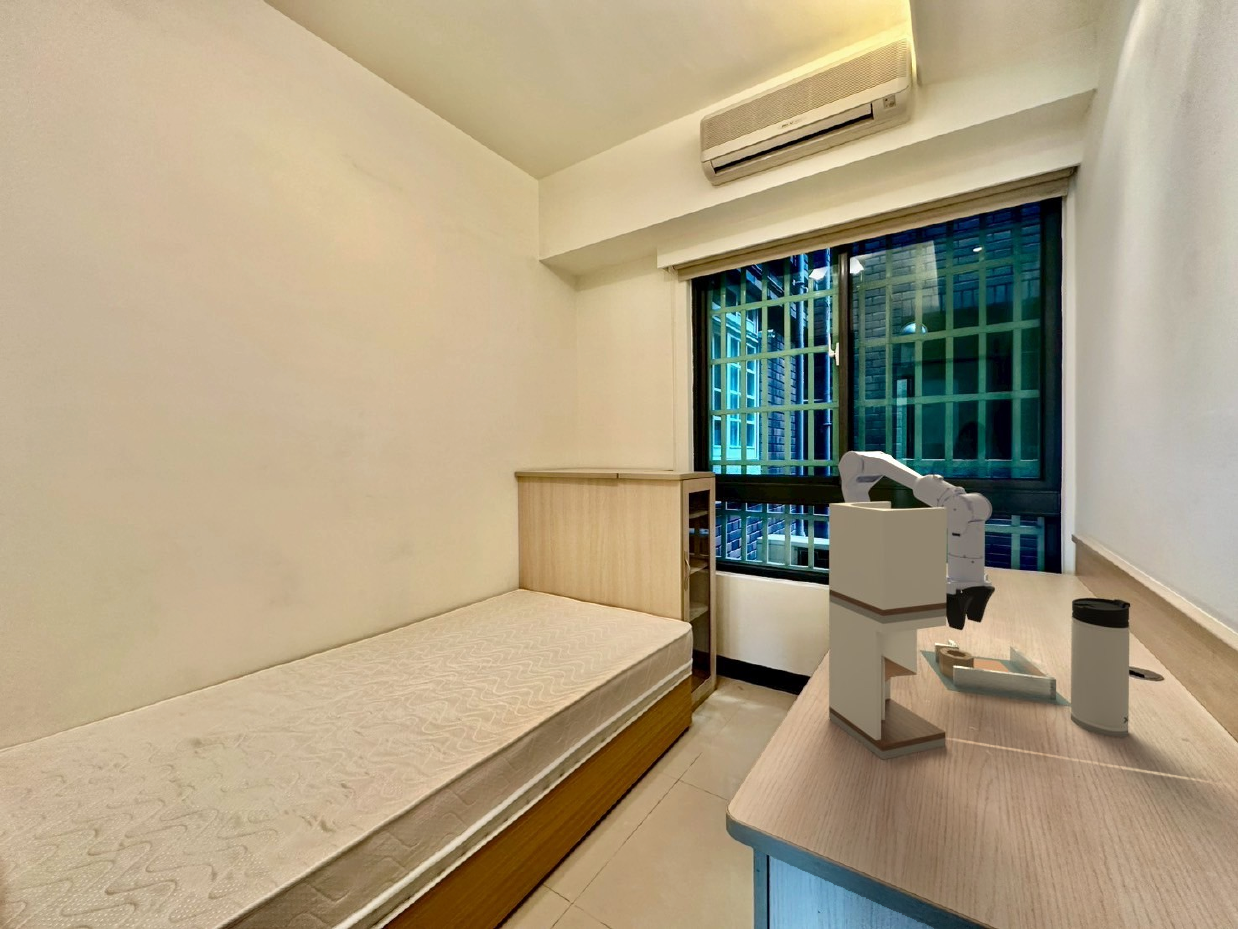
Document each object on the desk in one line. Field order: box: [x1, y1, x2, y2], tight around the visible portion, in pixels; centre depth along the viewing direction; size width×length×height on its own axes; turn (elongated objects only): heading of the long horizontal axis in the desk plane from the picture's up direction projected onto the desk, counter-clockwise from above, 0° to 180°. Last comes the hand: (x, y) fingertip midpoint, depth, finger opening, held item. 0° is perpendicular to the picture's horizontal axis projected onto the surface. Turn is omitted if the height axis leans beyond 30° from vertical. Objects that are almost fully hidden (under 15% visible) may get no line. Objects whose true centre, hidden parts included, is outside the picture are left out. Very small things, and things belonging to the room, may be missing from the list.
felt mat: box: [919, 649, 1071, 707], centre depth 89 cm, size 18×18×1 cm
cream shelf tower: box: [828, 500, 948, 760], centre depth 71 cm, size 11×11×35 cm
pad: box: [974, 658, 1011, 673], centre depth 92 cm, size 6×6×1 cm
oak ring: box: [939, 648, 974, 678], centre depth 89 cm, size 5×5×4 cm
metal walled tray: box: [934, 639, 1057, 700], centre depth 89 cm, size 15×15×4 cm
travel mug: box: [1070, 597, 1131, 739], centre depth 72 cm, size 6×7×20 cm
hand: (965, 624), depth 90 cm, fingers open, 7 cm apart
